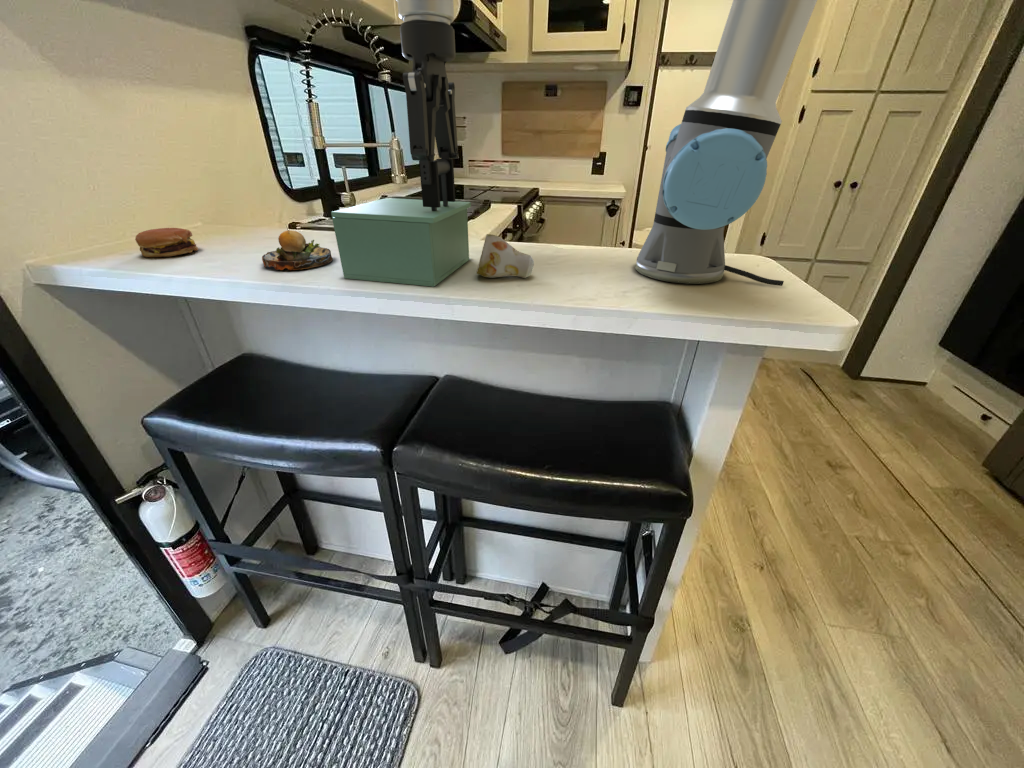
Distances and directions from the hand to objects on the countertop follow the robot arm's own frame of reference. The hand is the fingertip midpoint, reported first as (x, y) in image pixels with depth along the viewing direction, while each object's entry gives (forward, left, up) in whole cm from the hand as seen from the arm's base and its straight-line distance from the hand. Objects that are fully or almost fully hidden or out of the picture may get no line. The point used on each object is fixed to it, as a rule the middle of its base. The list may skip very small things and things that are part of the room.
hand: (439, 203), depth 69 cm
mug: (-11, 0, -12) cm, 16 cm away
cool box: (+7, 0, -11) cm, 13 cm away
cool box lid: (+6, 0, -2) cm, 6 cm away
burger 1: (+58, +4, -12) cm, 59 cm away
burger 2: (+29, +3, -12) cm, 31 cm away
